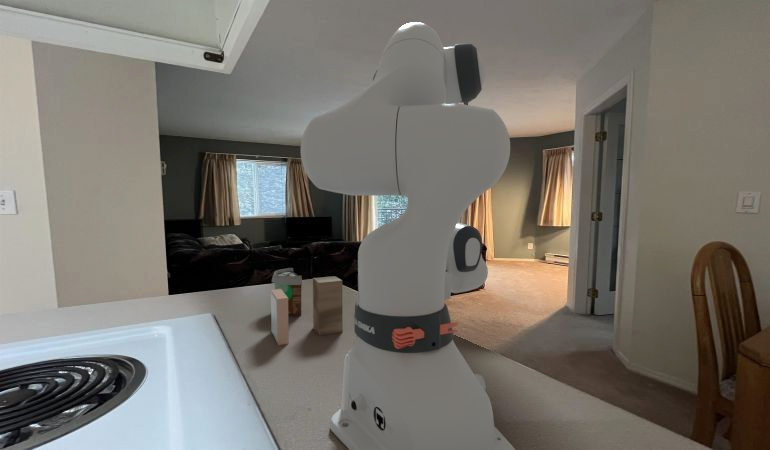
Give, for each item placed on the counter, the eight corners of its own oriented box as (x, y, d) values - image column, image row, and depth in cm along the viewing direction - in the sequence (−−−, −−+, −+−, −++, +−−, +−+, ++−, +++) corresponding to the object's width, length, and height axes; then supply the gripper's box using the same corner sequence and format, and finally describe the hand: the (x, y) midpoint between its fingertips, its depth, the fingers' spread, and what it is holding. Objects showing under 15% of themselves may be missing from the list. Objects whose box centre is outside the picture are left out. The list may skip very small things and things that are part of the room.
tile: (288, 343, 68) (288, 297, 67) (277, 345, 67) (276, 299, 66) (281, 330, 75) (281, 288, 75) (271, 331, 74) (270, 290, 74)
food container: (269, 306, 92) (268, 269, 92) (293, 304, 95) (292, 267, 94) (275, 320, 81) (275, 278, 81) (302, 317, 84) (302, 276, 83)
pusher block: (342, 331, 74) (342, 280, 74) (319, 335, 72) (319, 282, 71) (335, 324, 79) (335, 276, 78) (313, 327, 77) (312, 278, 76)
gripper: (408, 259, 96) (361, 263, 90) (454, 273, 77) (399, 279, 71) (408, 282, 96) (361, 287, 90) (454, 301, 78) (399, 310, 72)
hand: (378, 284), depth 81 cm, fingers open, 8 cm apart
